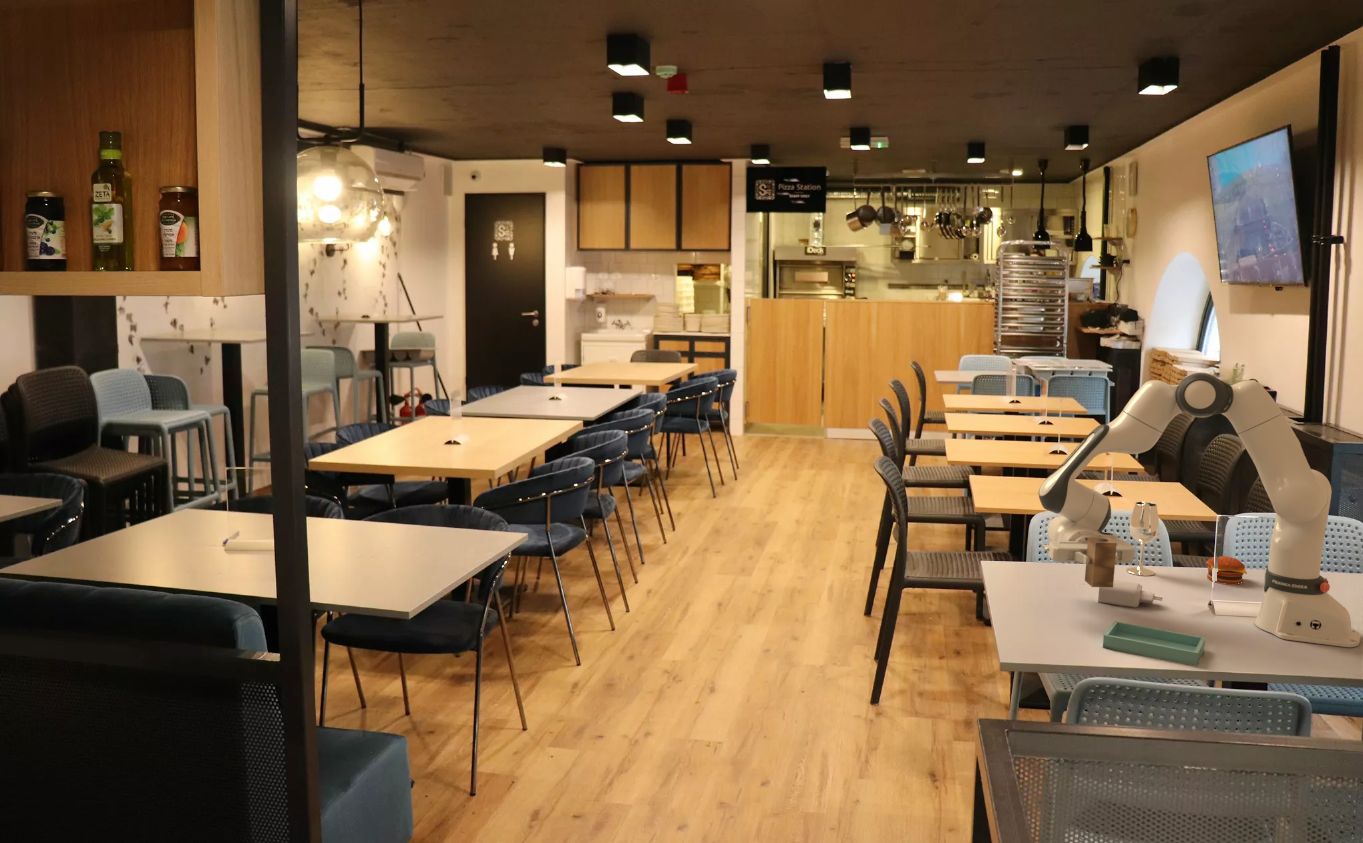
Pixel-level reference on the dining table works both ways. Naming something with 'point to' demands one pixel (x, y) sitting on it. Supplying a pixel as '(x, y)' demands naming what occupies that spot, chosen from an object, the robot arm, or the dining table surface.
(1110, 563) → the block
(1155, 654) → the tray
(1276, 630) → the robot arm
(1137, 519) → the wineglass
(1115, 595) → the charger
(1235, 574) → the hamburger
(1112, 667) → the dining table surface
